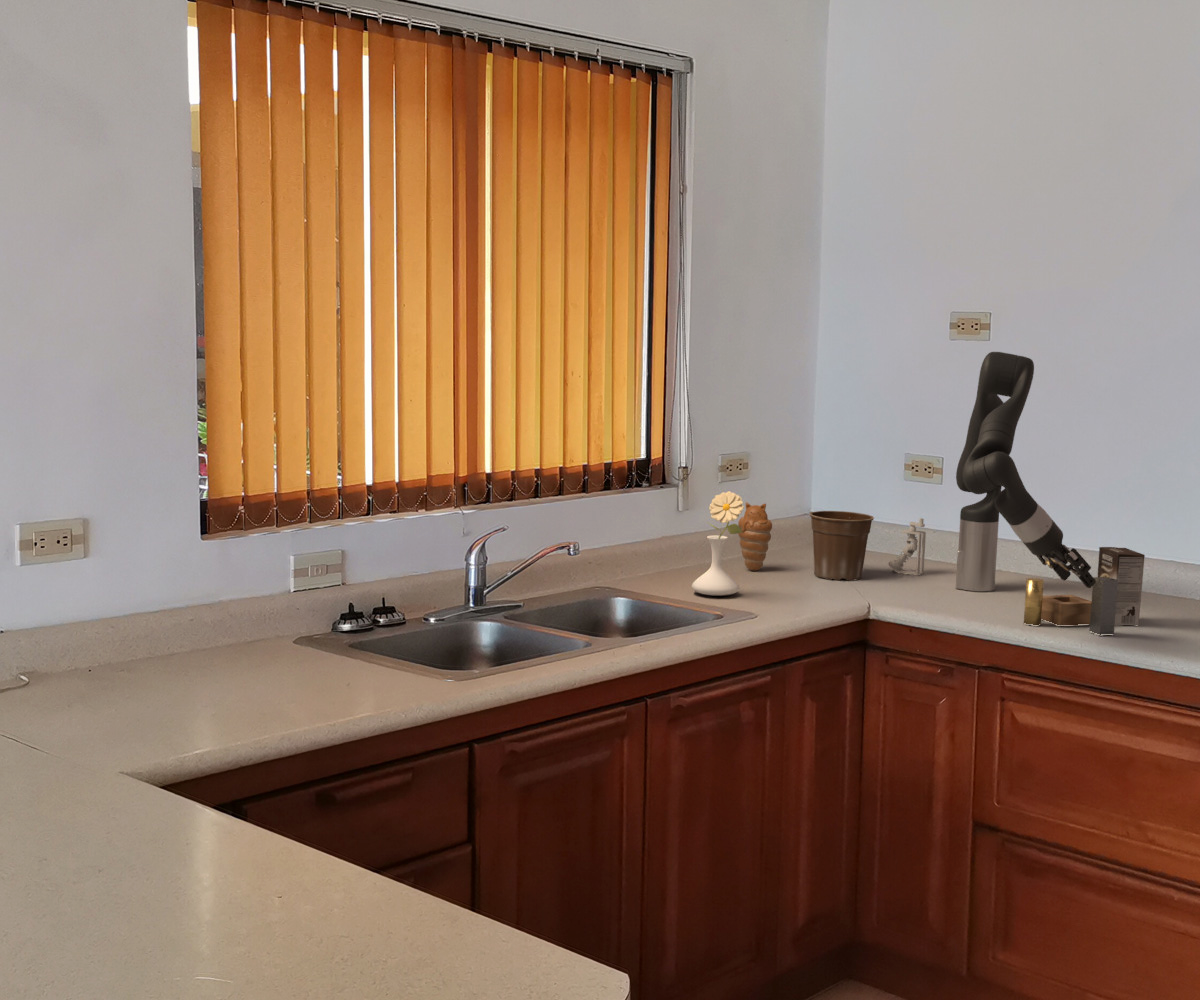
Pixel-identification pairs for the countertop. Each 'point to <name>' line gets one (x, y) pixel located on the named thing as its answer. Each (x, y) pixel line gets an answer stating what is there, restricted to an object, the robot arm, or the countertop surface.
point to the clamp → (911, 549)
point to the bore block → (1066, 610)
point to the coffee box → (1124, 581)
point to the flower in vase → (720, 547)
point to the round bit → (1033, 601)
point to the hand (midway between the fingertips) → (1079, 581)
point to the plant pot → (839, 543)
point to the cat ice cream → (754, 535)
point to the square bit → (1103, 605)
